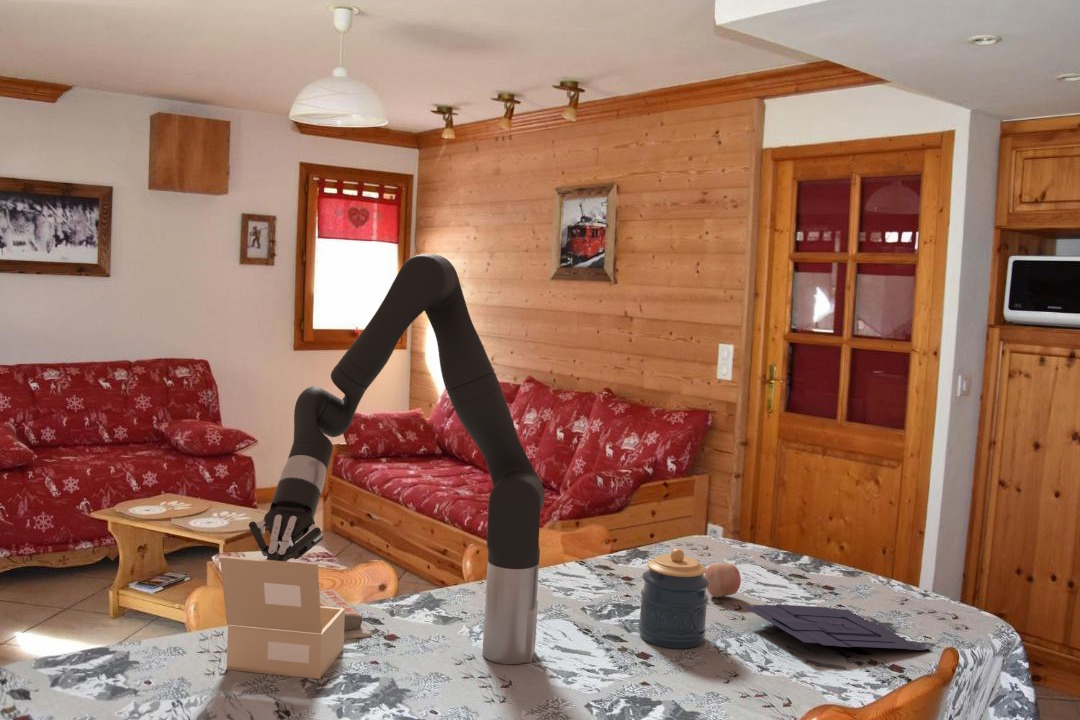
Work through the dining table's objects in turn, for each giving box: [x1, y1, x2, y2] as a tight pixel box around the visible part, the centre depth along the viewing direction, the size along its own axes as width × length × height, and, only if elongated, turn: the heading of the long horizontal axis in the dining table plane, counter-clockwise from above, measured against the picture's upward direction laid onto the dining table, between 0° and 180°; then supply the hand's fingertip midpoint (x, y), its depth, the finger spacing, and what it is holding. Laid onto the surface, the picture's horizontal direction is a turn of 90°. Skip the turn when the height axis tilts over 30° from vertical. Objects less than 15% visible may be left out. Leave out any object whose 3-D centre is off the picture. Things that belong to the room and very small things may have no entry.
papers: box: [741, 603, 926, 651], centre depth 197 cm, size 24×30×4 cm
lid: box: [219, 555, 322, 634], centre depth 159 cm, size 16×13×1 cm
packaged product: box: [319, 588, 373, 641], centre depth 187 cm, size 18×5×10 cm
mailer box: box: [225, 606, 345, 680], centre depth 168 cm, size 16×13×8 cm
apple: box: [704, 562, 742, 599], centre depth 217 cm, size 8×8×8 cm
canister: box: [638, 548, 709, 650], centre depth 190 cm, size 13×13×18 cm
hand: (271, 578), depth 158 cm, fingers closed
